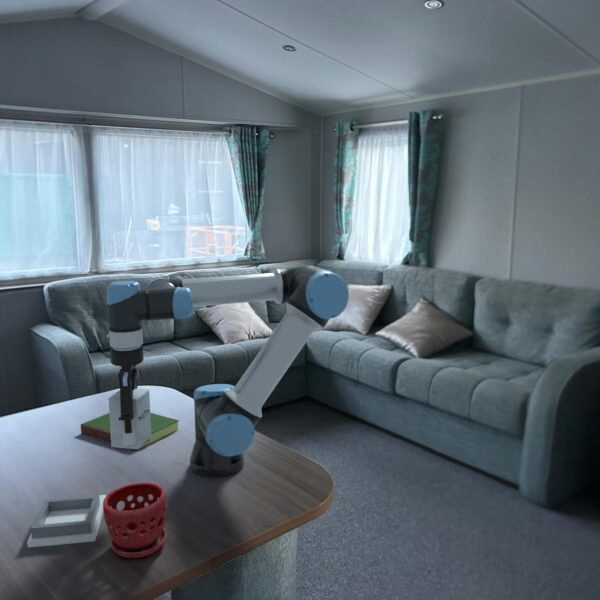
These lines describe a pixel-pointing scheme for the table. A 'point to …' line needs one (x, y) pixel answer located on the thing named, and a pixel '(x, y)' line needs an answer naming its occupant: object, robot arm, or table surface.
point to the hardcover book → (102, 431)
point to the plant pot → (136, 519)
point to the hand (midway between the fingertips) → (131, 436)
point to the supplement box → (140, 418)
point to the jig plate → (67, 521)
